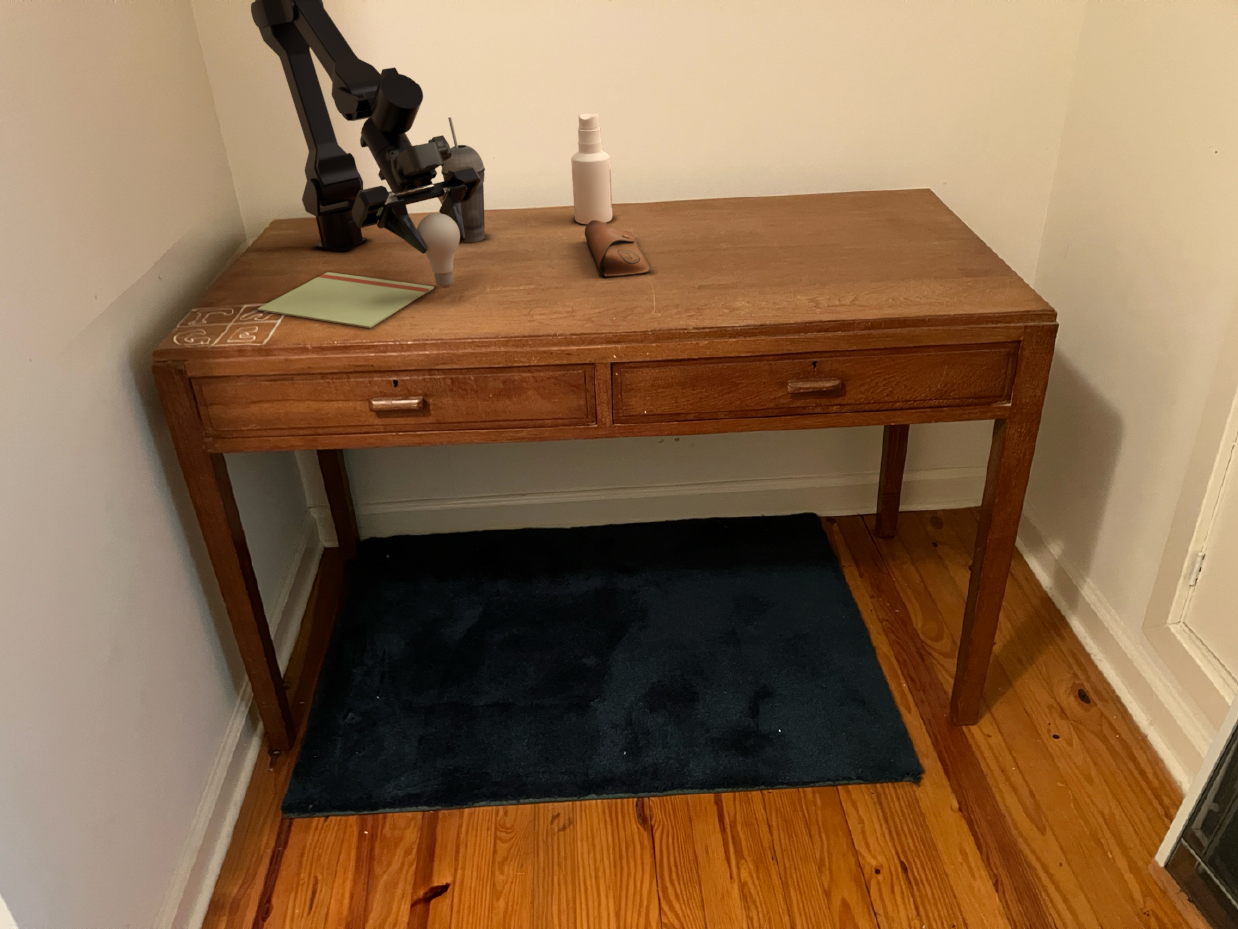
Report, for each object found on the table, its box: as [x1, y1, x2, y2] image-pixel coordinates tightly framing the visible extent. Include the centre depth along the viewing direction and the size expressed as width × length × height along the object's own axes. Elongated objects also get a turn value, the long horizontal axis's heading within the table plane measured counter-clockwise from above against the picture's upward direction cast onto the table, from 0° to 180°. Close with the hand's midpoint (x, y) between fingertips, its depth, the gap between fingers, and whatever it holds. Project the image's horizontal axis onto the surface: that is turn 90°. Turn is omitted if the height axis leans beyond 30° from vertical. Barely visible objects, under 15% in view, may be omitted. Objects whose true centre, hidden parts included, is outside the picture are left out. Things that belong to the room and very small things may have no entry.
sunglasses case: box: [584, 220, 651, 278], centre depth 147 cm, size 18×7×7 cm
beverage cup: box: [441, 116, 486, 243], centre depth 153 cm, size 7×7×20 cm
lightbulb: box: [416, 212, 460, 289], centre depth 132 cm, size 6×6×11 cm
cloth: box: [257, 271, 435, 329], centre depth 136 cm, size 20×16×1 cm
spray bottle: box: [570, 112, 613, 226], centre depth 160 cm, size 7×7×18 cm
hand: (444, 246), depth 130 cm, fingers closed on lightbulb, 6 cm apart
